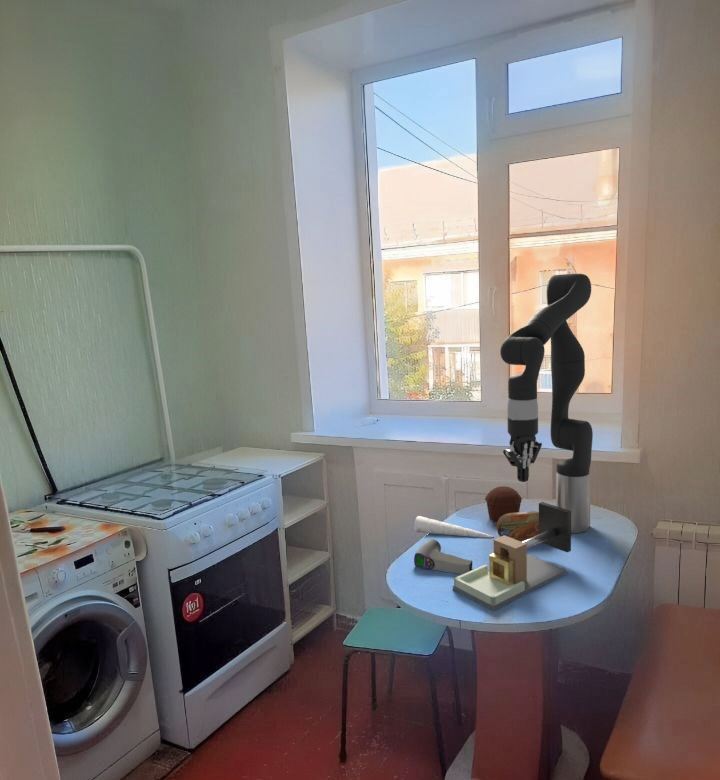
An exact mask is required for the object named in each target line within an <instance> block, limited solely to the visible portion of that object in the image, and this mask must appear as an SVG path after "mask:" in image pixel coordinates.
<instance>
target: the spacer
mask: <svg viewBox="0 0 720 780" xmlns="http://www.w3.org/2000/svg"><path fill="white" fill-rule="evenodd" d="M488 556H489V557H488V558H489V559H488V566H489V568H488V570H489V574H490V578H492V579H494V580H496V581H498V582H500V583H502V584H505V585H507V586H510V585H512V584H514V560H511V559H509V558H506V557H504V556H502V555H499V554H497V553H494V552H493V553H491V554H489V555H488ZM498 563H499V564H501V565H503V566H504V574H502V573H499V564H498Z"/></svg>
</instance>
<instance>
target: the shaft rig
mask: <svg viewBox="0 0 720 780" xmlns="http://www.w3.org/2000/svg"><path fill="white" fill-rule="evenodd" d="M506 549H507V550H509V556H508V555H507V554H506ZM527 549H528V548H527V544H526V543H523V542H521V541H518V540H515V539H513V538H510V537H508V536H505V535H504V536H501V537H500V536H499V537H497V538H494V539H493V553H497V554H499V555H502V556H504V557H506V558H509V559H511V560H514V584H512V585H510V586H507V585H505V584H502V583H500V582H498V581H496V580H494V579H492V578H490V574H489V569H488V565H487V564H483V565H481V566H479V567H476V568H474V569H472V570H471V571H469V572H467V573H465V574H459V575H458V576H456V577H454V578H453V585H452V590H453V591H454V592H456V593H459V594H461V595H462V596H464V597H467V598H468V599H470V600H472V601H473V602H475V603H478V604H480V605H481V606H484V607H485V608H488V609H489V610H491V611H493V612H494V611H495V610H497V609H499V608H502V607H503V606H505V605H508V604H510V603H512V602H513V601H516V600H517V599H519V598H521V597H523V596H525V595H527V594H529V593H531V592H533V591H535V590H537V589H539V588H541V587H543V586H545V585H547V584H549V583H551V582H553V581H555V580H557V579H559V578H561V577H562V576H564V575H566V574H567V569H566V568H564V567H562V566H559V565H556V564H554V563H551V562H548V561H547V560H545V559H544V560H543V559H541V558H538V557H536V556H534V555H531V554H529V553H527ZM498 564H499V563H498ZM499 573H502V574H504V566H503V565H501V564H499Z"/></svg>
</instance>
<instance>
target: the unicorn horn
mask: <svg viewBox="0 0 720 780" xmlns="http://www.w3.org/2000/svg"><path fill="white" fill-rule="evenodd" d="M413 527H414V531H415V532H416V533H424V534H434V535H435V534H436V535H446V536H447V535H448V536H460V537H471V538H472V537H473V538H474V537H475V538H479V537H480V538H490V539H491V538H494V536H493V535H491V534H487V533H484V532H482V531H478V530H474V529H471V528H467V527H463V526H460V525H456V524H452V523H449V522H446V521H445V522H443V521H440V520H437V519H433V518H428V517H426V516H421V515H417V516H416V518H415V520H414V526H413Z"/></svg>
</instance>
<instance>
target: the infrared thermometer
mask: <svg viewBox="0 0 720 780" xmlns="http://www.w3.org/2000/svg"><path fill="white" fill-rule="evenodd" d="M441 550H442V546H441V544H440V543H439V541H438V540H436V539H435V538H430V539H428V540H427V541H426V542H424V543H423V544H422V545H420V547H419V548H418V549H417V551H416V552H415V553H414V555H413V556H414V558H413V564H414V566H415V568H418V569H423V570H426V571H432V570H433V571H439V572H445V573H453V574H457V575H458V574H459V575H462V574H465V573H467V572H469V571H472V570H473V560H470V559H466V558H463V557H459V556H456V555H453V554H449V553H445V552H441Z"/></svg>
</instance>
